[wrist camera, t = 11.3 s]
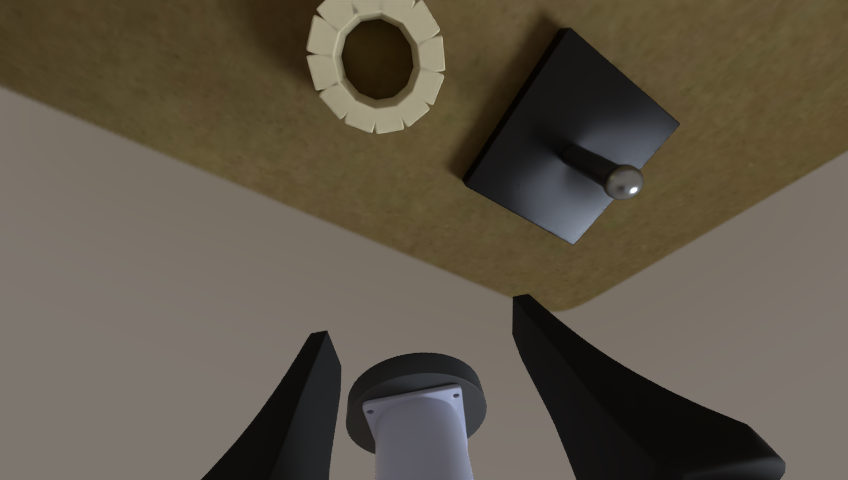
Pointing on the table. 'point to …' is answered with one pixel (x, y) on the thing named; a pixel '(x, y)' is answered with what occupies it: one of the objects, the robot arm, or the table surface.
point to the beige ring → (340, 15)
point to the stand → (570, 141)
